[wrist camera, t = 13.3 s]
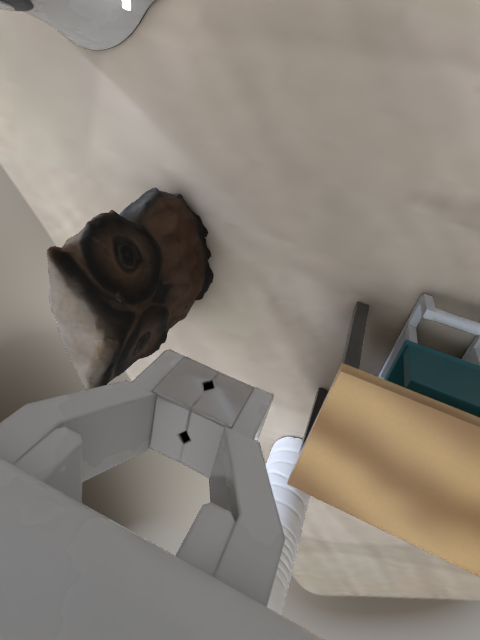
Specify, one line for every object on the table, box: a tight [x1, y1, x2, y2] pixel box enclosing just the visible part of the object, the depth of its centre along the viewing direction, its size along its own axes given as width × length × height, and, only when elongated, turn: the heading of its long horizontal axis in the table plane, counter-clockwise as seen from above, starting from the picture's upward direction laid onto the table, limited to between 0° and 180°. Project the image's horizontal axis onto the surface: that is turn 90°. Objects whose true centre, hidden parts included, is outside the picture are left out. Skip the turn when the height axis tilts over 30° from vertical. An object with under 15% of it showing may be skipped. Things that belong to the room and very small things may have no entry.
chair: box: [378, 294, 480, 417], centre depth 34 cm, size 12×8×12 cm, turn 167°
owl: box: [47, 188, 213, 390], centre depth 36 cm, size 13×13×20 cm
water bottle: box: [266, 437, 310, 615], centre depth 41 cm, size 9×6×25 cm
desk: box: [287, 302, 480, 577], centre depth 35 cm, size 14×18×14 cm
